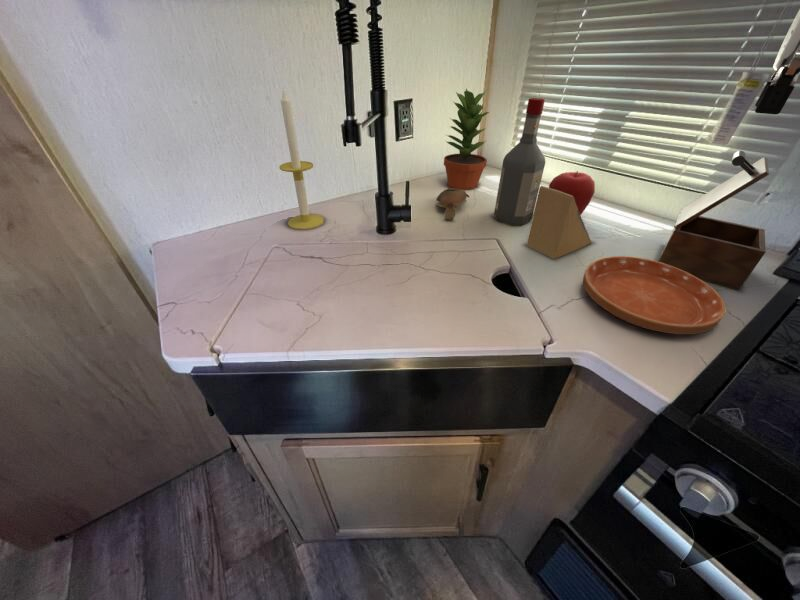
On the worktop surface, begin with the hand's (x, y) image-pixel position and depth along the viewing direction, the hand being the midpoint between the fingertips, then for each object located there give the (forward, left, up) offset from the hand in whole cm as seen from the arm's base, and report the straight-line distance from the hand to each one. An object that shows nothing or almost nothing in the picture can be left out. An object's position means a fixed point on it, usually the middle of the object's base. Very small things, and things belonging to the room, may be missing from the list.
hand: (765, 110), depth 62 cm
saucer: (+4, +23, -31) cm, 39 cm away
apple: (+30, -8, -31) cm, 44 cm away
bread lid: (0, 0, -15) cm, 15 cm away
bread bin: (-3, 0, -31) cm, 31 cm away
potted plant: (+68, -15, -31) cm, 76 cm away
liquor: (+41, +2, -31) cm, 51 cm away
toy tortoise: (+59, +6, -31) cm, 67 cm away
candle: (+85, +41, -31) cm, 99 cm away
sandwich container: (+25, +9, -31) cm, 41 cm away
